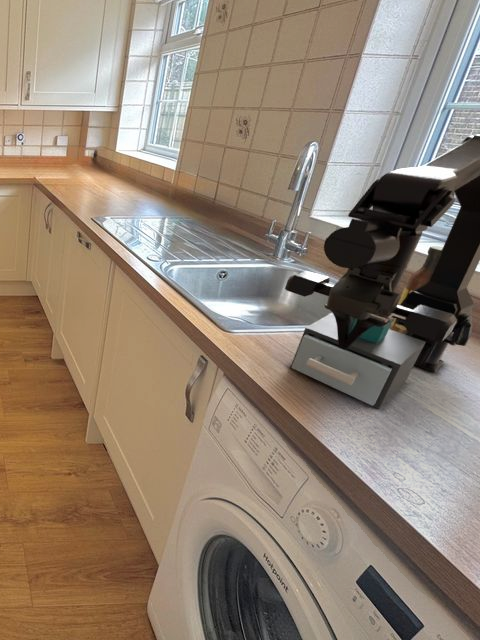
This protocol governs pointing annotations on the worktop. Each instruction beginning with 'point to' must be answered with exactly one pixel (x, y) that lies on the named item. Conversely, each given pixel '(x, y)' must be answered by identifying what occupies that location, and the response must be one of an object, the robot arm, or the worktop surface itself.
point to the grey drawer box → (376, 352)
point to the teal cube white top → (374, 333)
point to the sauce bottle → (418, 280)
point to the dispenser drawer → (341, 368)
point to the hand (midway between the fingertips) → (342, 348)
